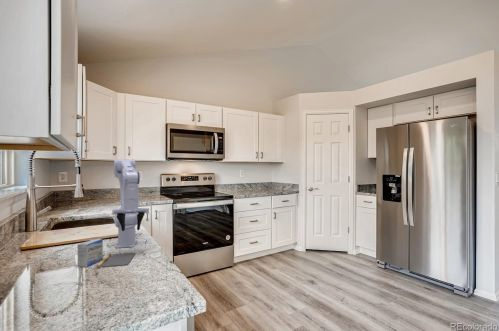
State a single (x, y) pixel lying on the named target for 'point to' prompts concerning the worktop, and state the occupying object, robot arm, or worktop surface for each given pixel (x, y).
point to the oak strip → (103, 261)
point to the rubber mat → (119, 260)
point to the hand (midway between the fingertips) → (131, 230)
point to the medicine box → (90, 252)
